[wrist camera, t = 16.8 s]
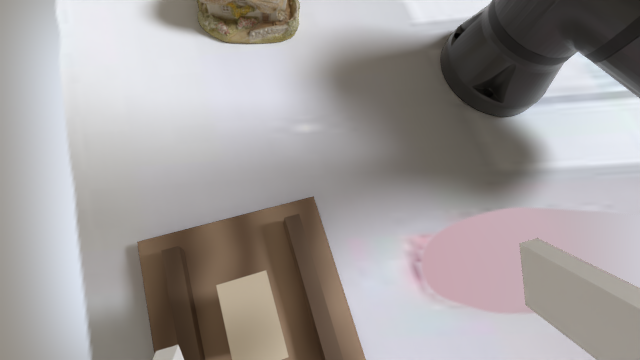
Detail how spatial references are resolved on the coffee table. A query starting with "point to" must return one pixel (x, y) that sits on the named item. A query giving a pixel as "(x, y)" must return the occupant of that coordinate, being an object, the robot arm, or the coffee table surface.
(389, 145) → the coffee table surface
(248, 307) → the beige rectangular block
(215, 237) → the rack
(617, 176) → the coffee table surface
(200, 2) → the ceramic model
